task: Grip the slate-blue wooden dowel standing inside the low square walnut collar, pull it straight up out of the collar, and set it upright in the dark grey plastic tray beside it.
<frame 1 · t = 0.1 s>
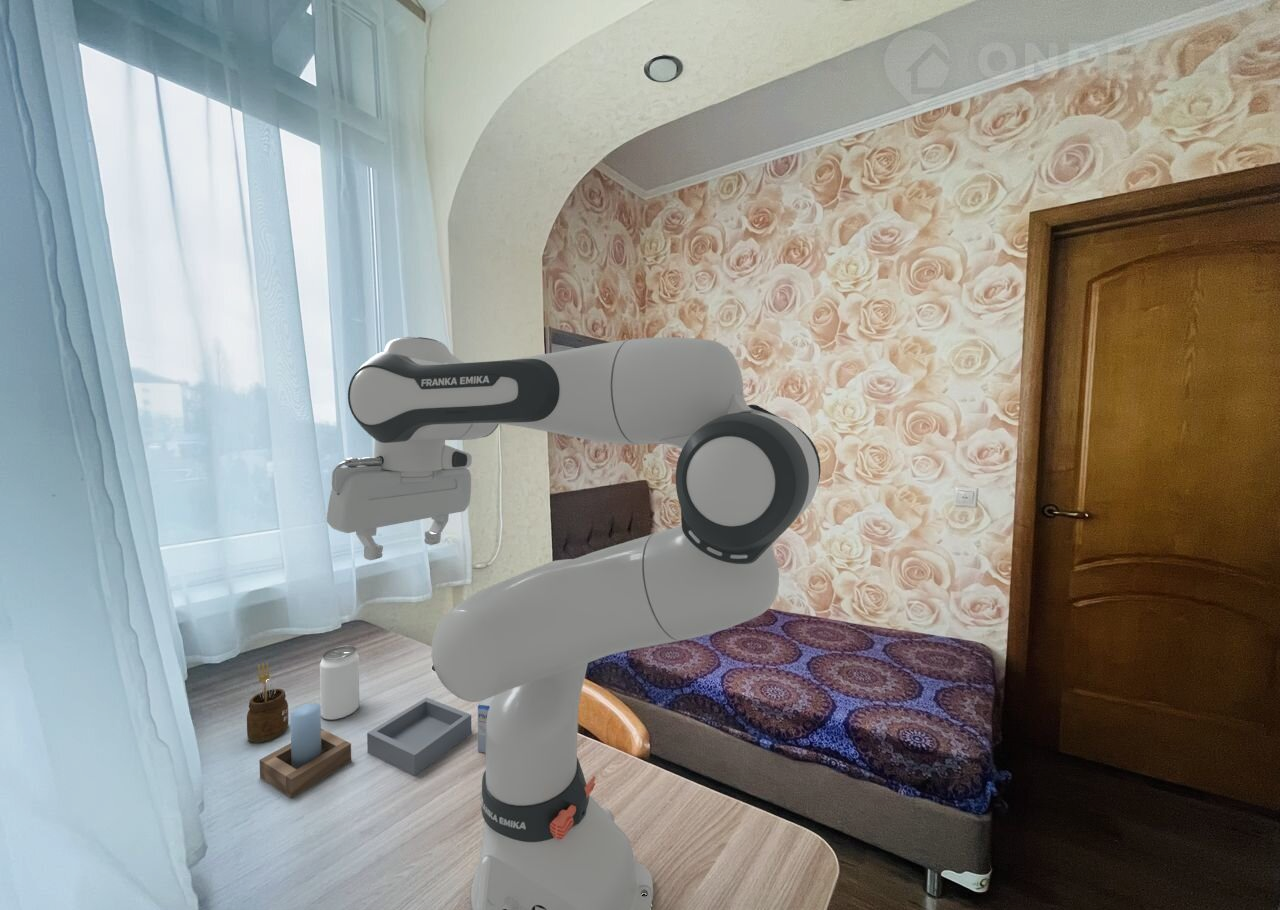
hand: (404, 550, 66), 39 cm above the table, tool pointing down, fingers open, 8 cm apart
can: (340, 712, 91), on the table
utensil holder: (268, 733, 84), on the table
dowel: (306, 769, 76), resting in collar
medicine box: (499, 741, 83), on the table
collar: (306, 768, 76), on the table
tray: (421, 742, 82), on the table
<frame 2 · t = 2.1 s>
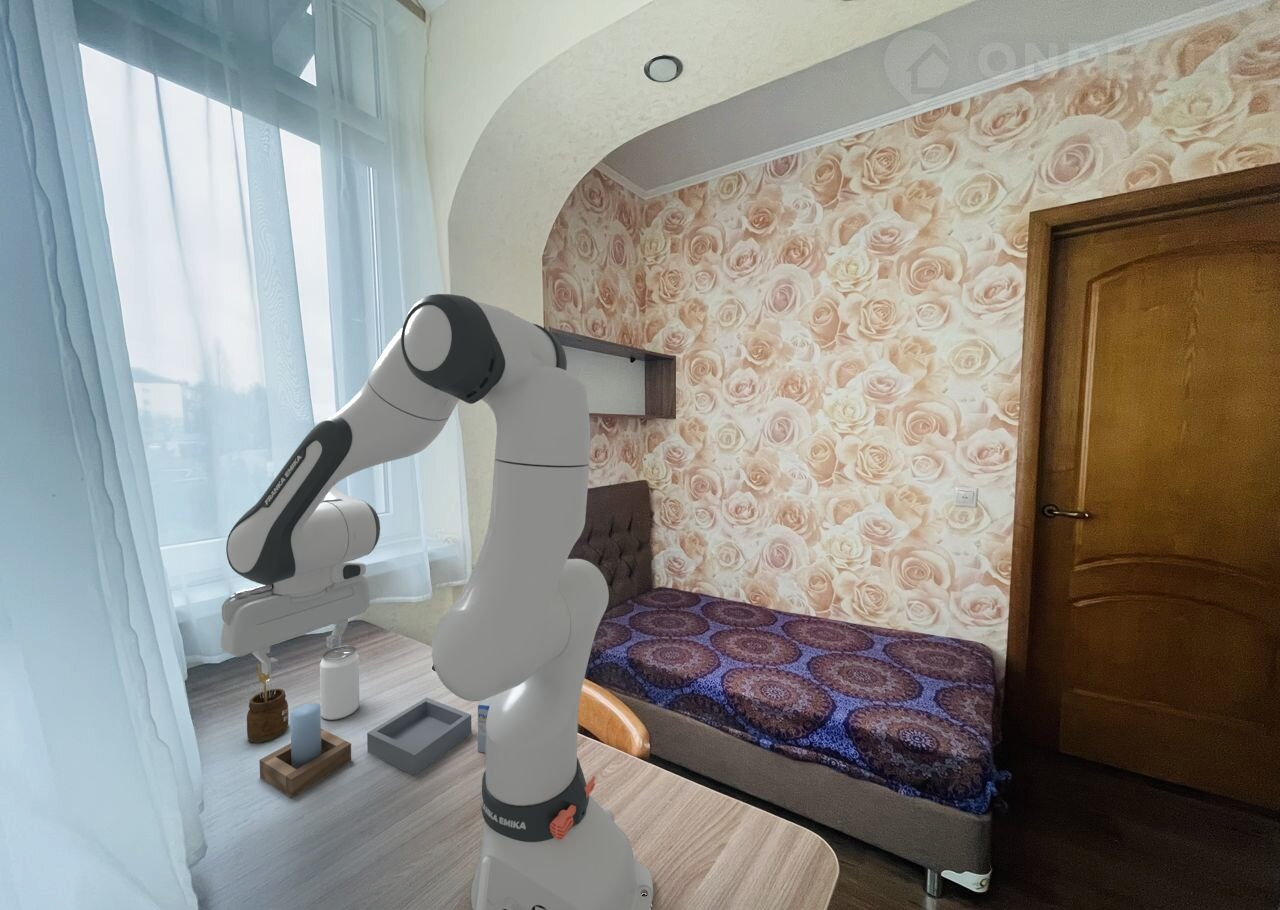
hand: (303, 658, 75), 19 cm above the table, tool pointing down, fingers open, 8 cm apart
nothing on the table moved.
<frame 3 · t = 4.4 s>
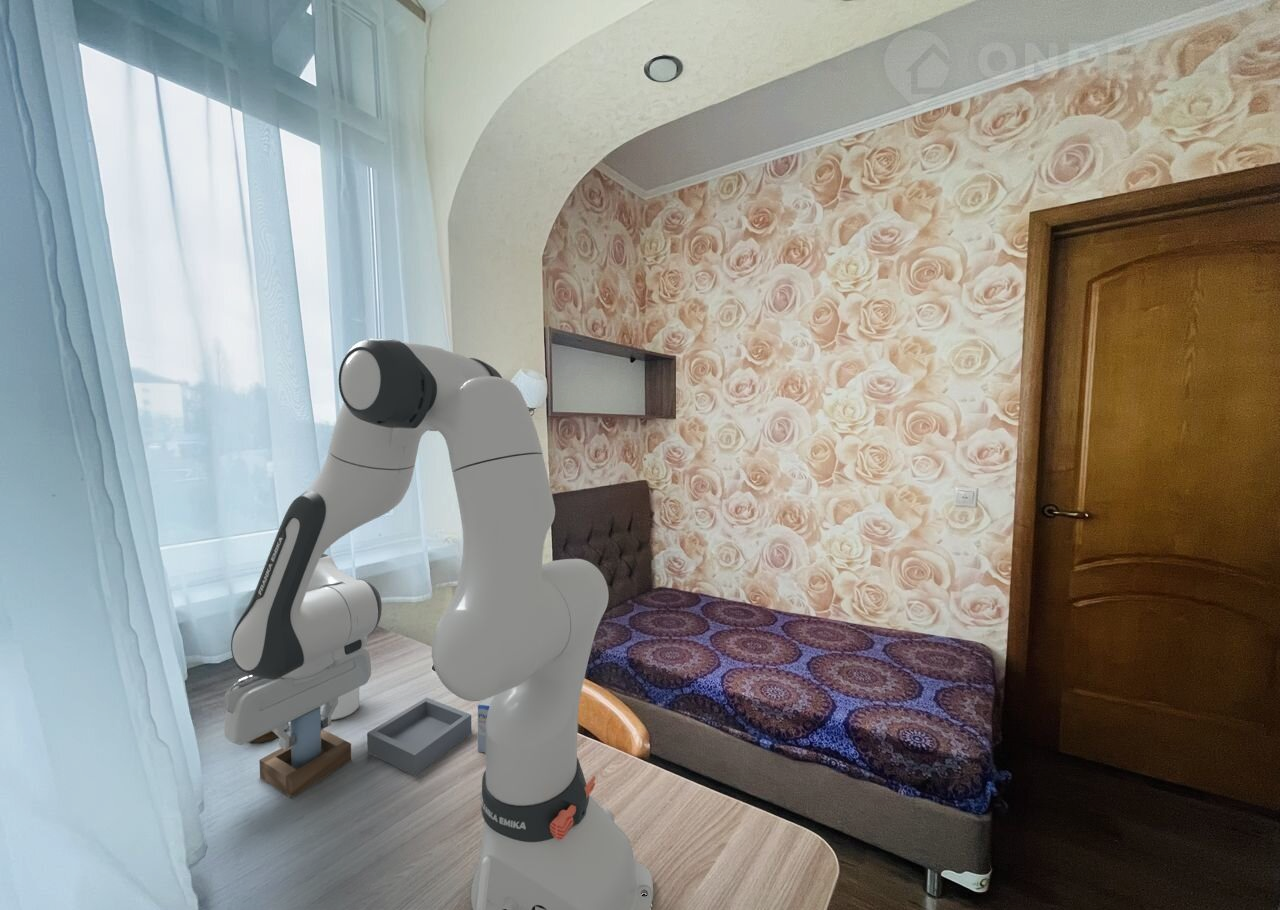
hand: (306, 736, 75), 6 cm above the table, tool pointing down, fingers closed on dowel, 4 cm apart
dowel: (306, 768, 76), resting in collar, touching gripper
everything else where it was.
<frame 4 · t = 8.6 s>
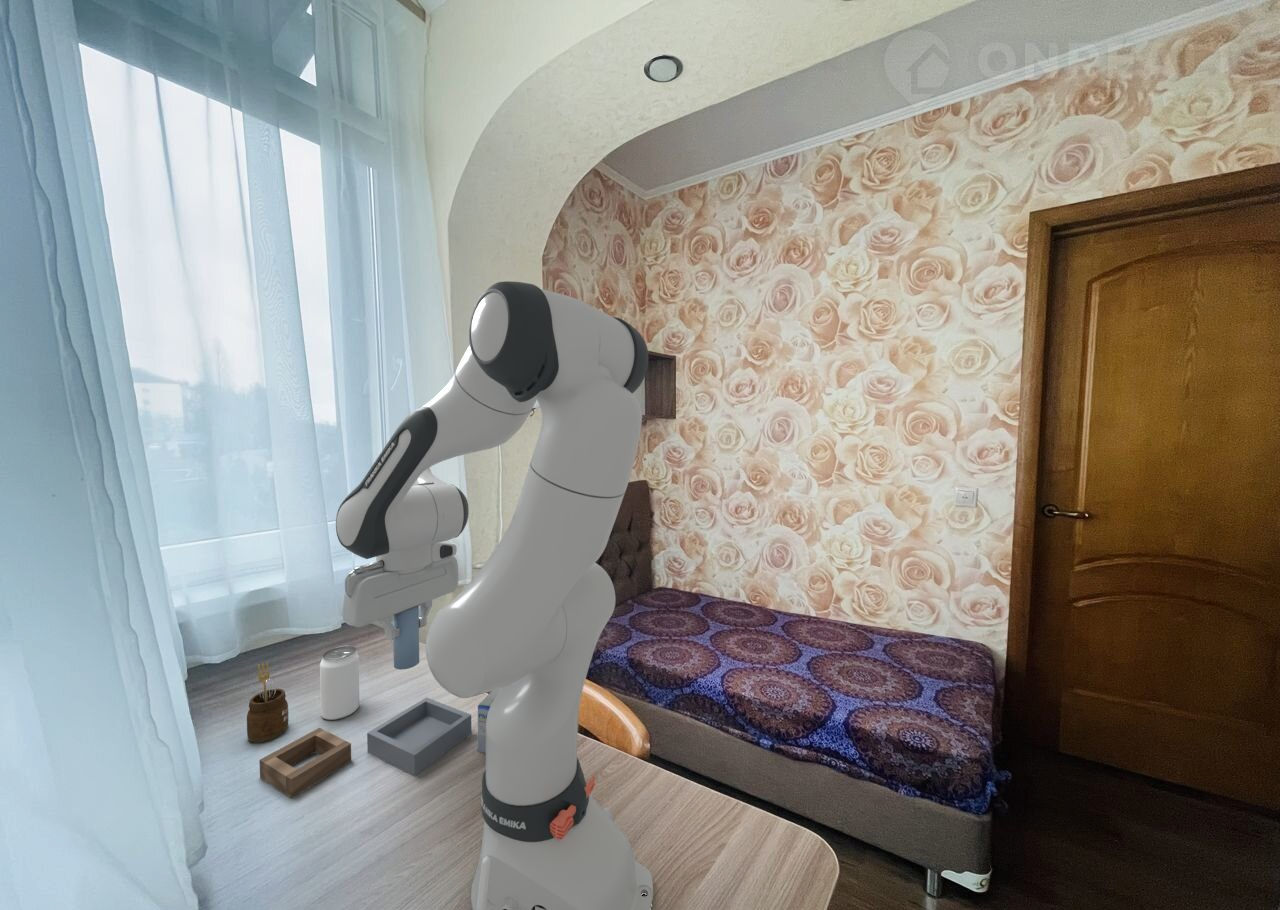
hand: (406, 632, 80), 21 cm above the table, tool pointing down, fingers closed on dowel, 4 cm apart
dowel: (406, 663, 81), point 15 cm above the table, touching gripper
everything else where it was.
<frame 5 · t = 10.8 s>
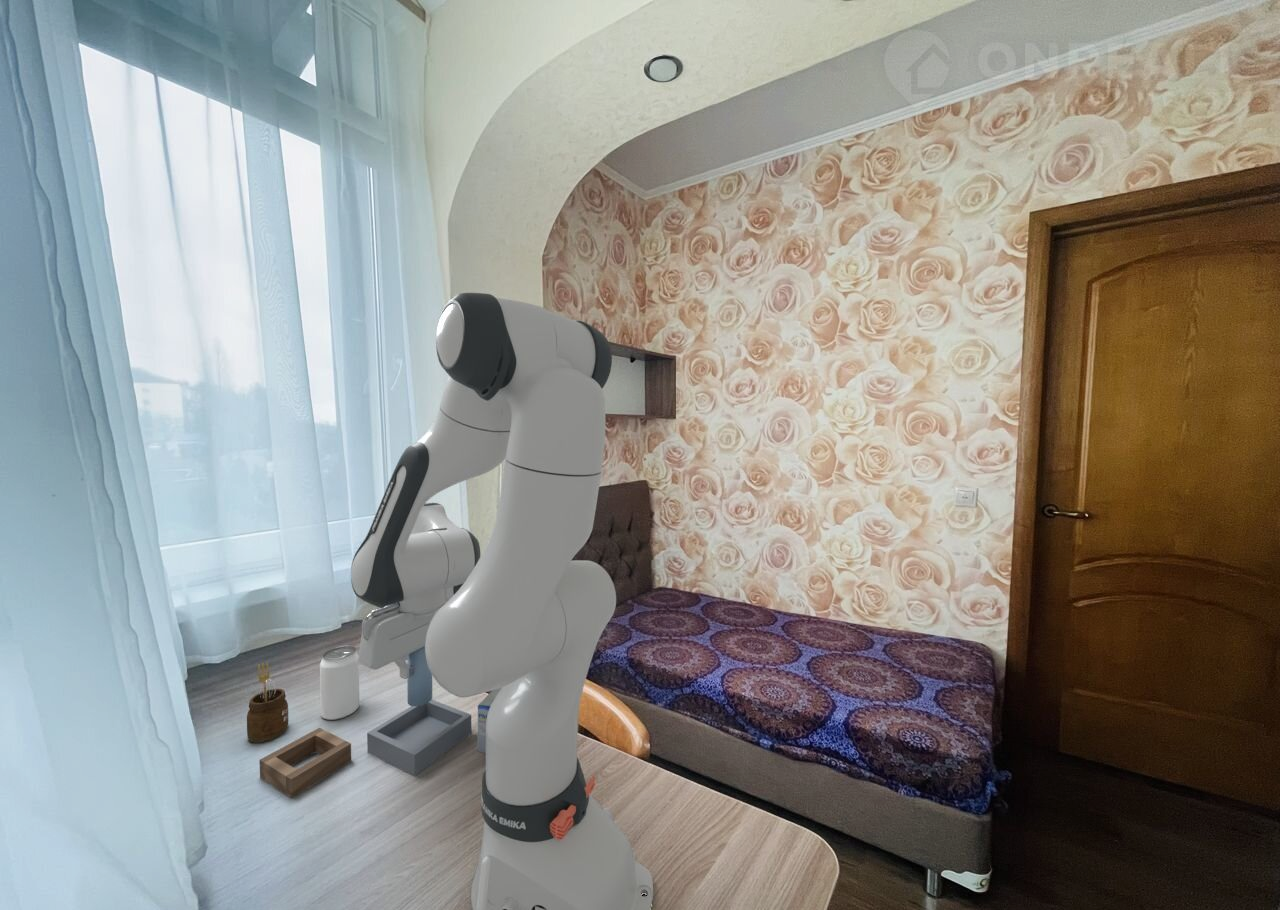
hand: (420, 669, 82), 13 cm above the table, tool pointing down, fingers closed on dowel, 4 cm apart
dowel: (420, 699, 82), point 8 cm above the table, touching gripper
everything else where it was.
when the fingers open (8 cm above the table, at t = 12.9 s): dowel drops 1 cm, resting on tray.
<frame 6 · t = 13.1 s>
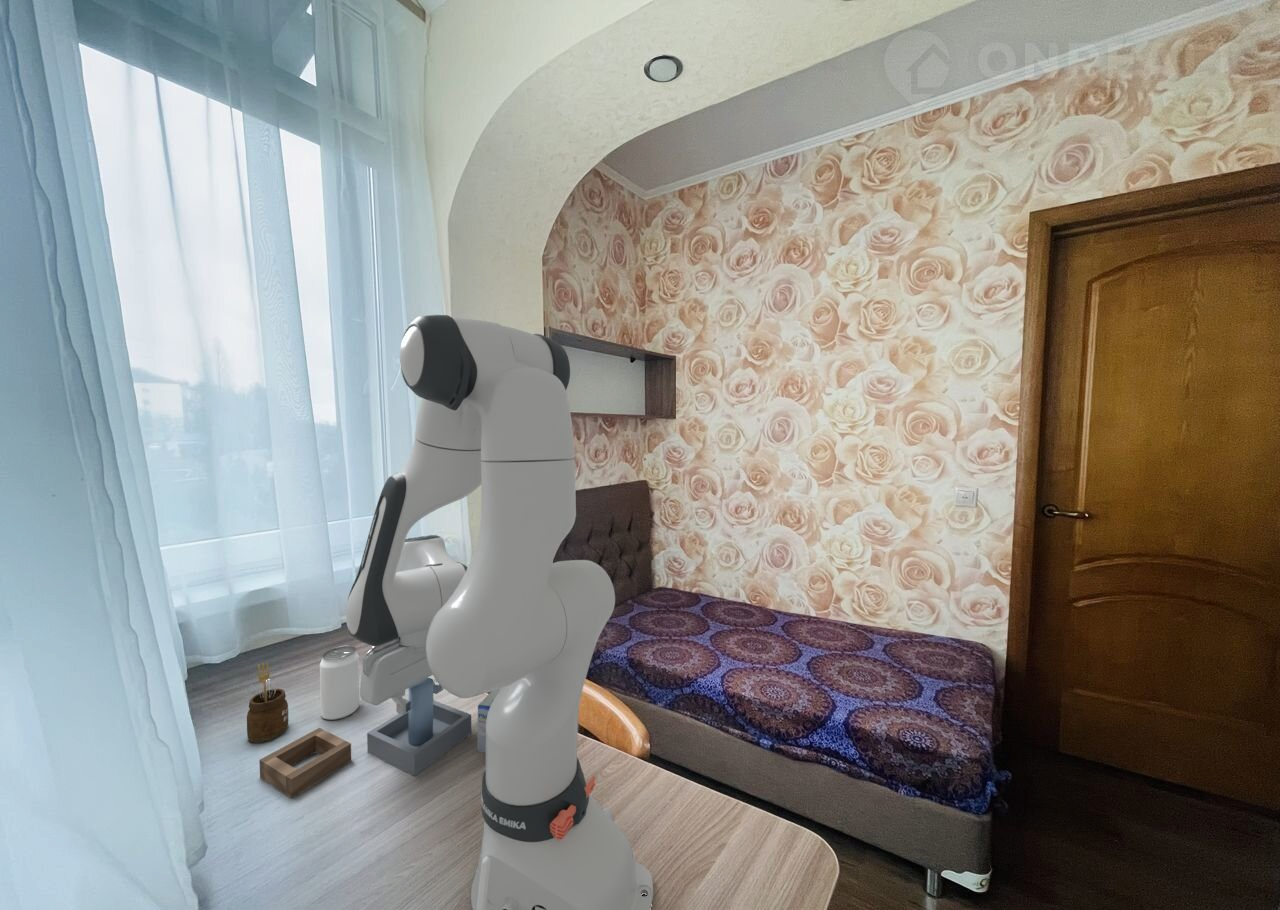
hand: (421, 701, 82), 8 cm above the table, tool pointing down, fingers open, 5 cm apart
dowel: (420, 738, 82), point 1 cm above the table, touching tray
everything else where it was.
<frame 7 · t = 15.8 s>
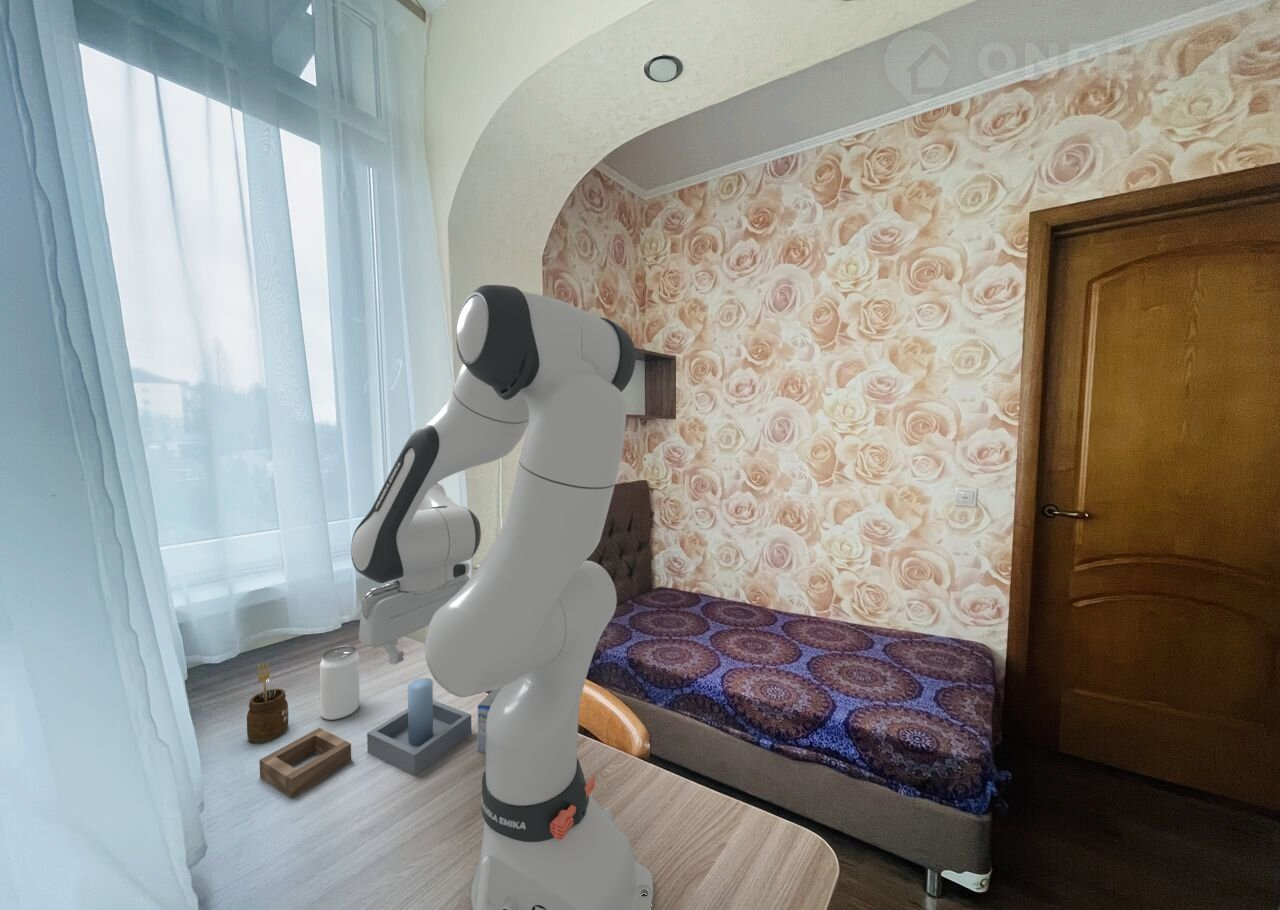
hand: (420, 650, 82), 17 cm above the table, tool pointing down, fingers open, 8 cm apart
nothing on the table moved.
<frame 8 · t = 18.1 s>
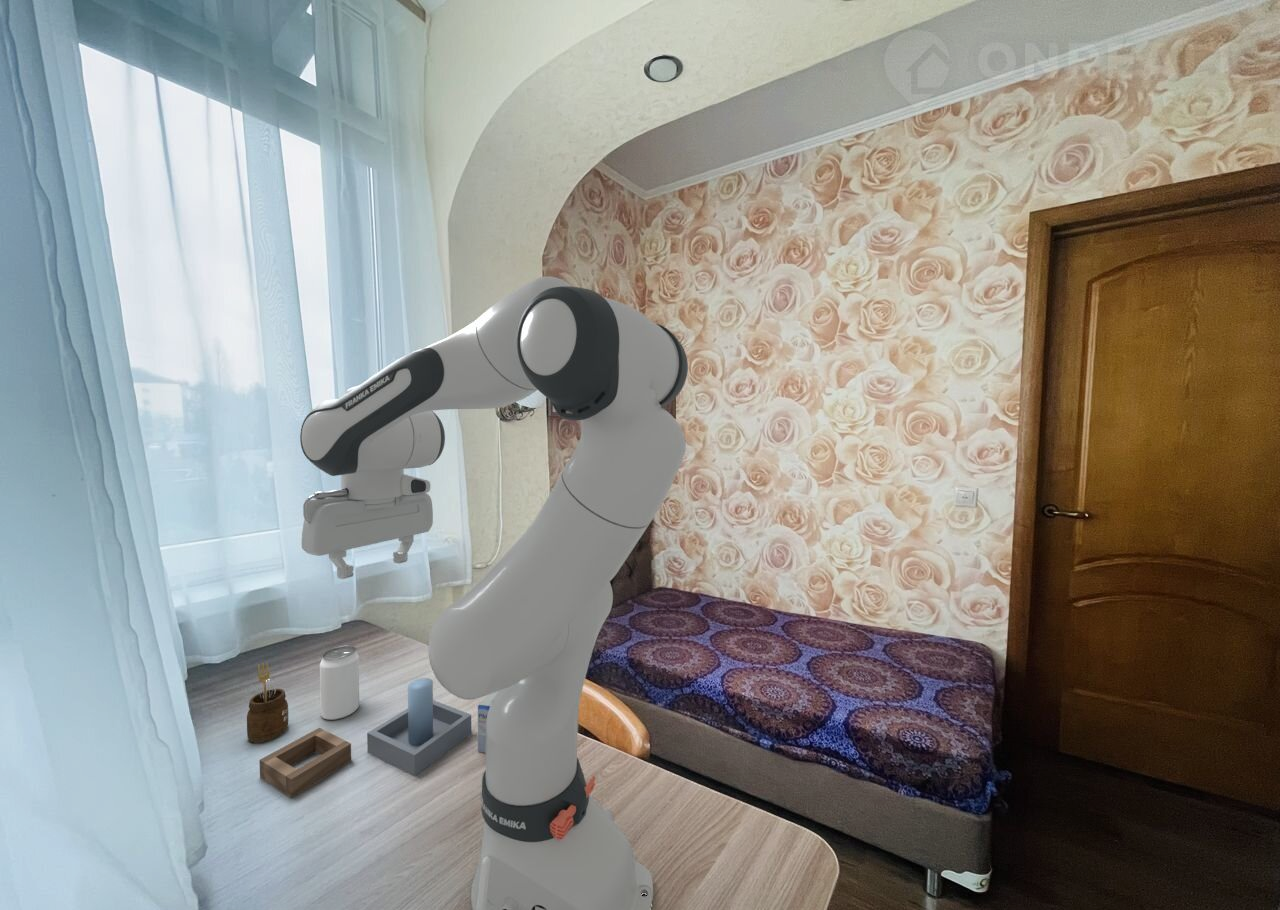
hand: (374, 569, 75), 33 cm above the table, tool pointing down, fingers open, 8 cm apart
nothing on the table moved.
at the end: dowel inside the target area on the tray (0.1 cm from its centre), point 0.8 cm above the tray's base; dowel tilted 0°; the gripper is holding nothing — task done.
